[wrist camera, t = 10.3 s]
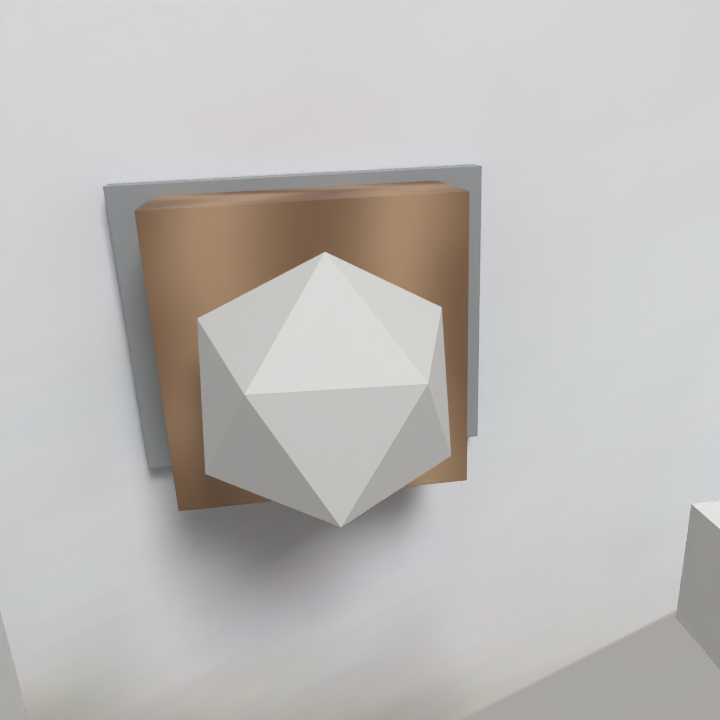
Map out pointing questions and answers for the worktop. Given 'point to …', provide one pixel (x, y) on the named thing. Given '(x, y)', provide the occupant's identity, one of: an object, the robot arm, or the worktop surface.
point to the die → (324, 389)
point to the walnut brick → (275, 257)
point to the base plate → (134, 195)
